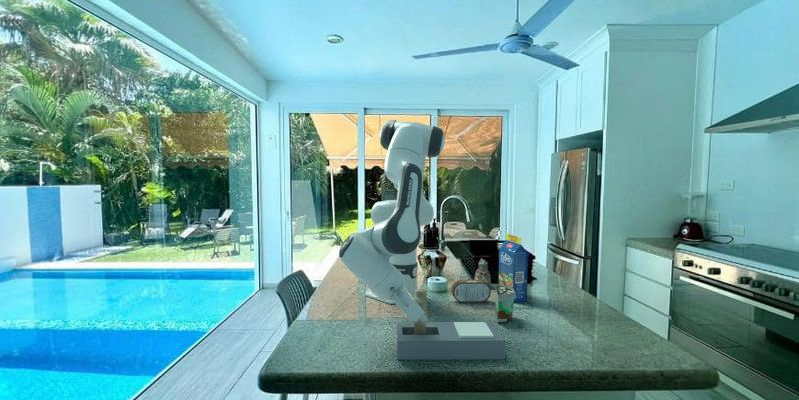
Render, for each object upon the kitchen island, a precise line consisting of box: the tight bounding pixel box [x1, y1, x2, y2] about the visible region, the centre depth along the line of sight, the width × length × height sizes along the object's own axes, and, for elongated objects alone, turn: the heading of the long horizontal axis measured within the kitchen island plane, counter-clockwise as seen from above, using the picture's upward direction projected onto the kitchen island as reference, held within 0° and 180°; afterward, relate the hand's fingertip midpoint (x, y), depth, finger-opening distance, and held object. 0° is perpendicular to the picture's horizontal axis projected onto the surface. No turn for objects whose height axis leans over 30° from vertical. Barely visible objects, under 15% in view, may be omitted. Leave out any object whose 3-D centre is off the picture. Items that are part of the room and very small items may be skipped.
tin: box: [450, 279, 492, 303], centre depth 134 cm, size 15×3×8 cm, turn 92°
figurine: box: [474, 258, 492, 288], centre depth 154 cm, size 7×7×12 cm
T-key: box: [414, 288, 427, 335], centre depth 96 cm, size 8×3×16 cm, turn 91°
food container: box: [495, 284, 516, 325], centre depth 117 cm, size 12×6×10 cm, turn 168°
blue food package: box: [498, 232, 529, 303], centre depth 139 cm, size 6×12×25 cm, turn 10°
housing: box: [396, 321, 506, 361], centre depth 96 cm, size 28×12×6 cm, turn 91°
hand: (422, 315), depth 96 cm, fingers closed on T-key, 3 cm apart
